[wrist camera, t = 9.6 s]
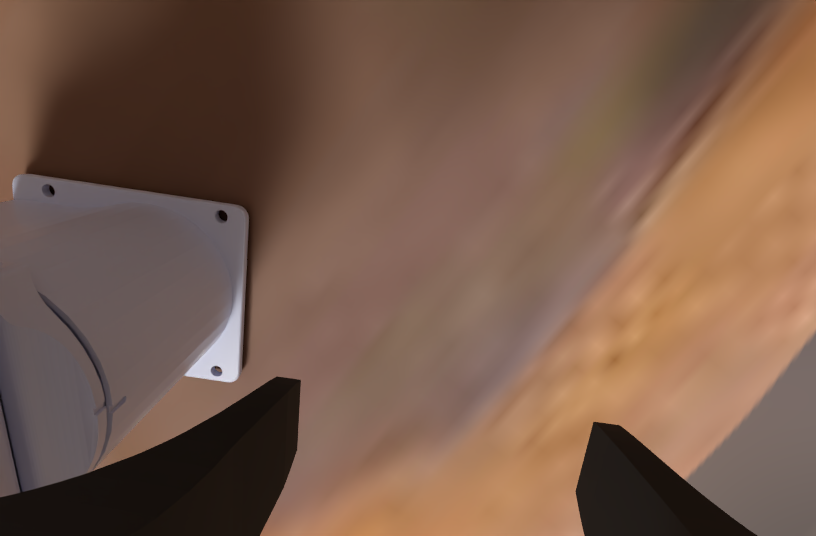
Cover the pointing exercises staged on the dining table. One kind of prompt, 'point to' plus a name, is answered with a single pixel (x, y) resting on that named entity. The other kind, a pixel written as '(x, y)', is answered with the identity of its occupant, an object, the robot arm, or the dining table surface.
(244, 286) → the robot arm
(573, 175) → the dining table surface
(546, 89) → the dining table surface
